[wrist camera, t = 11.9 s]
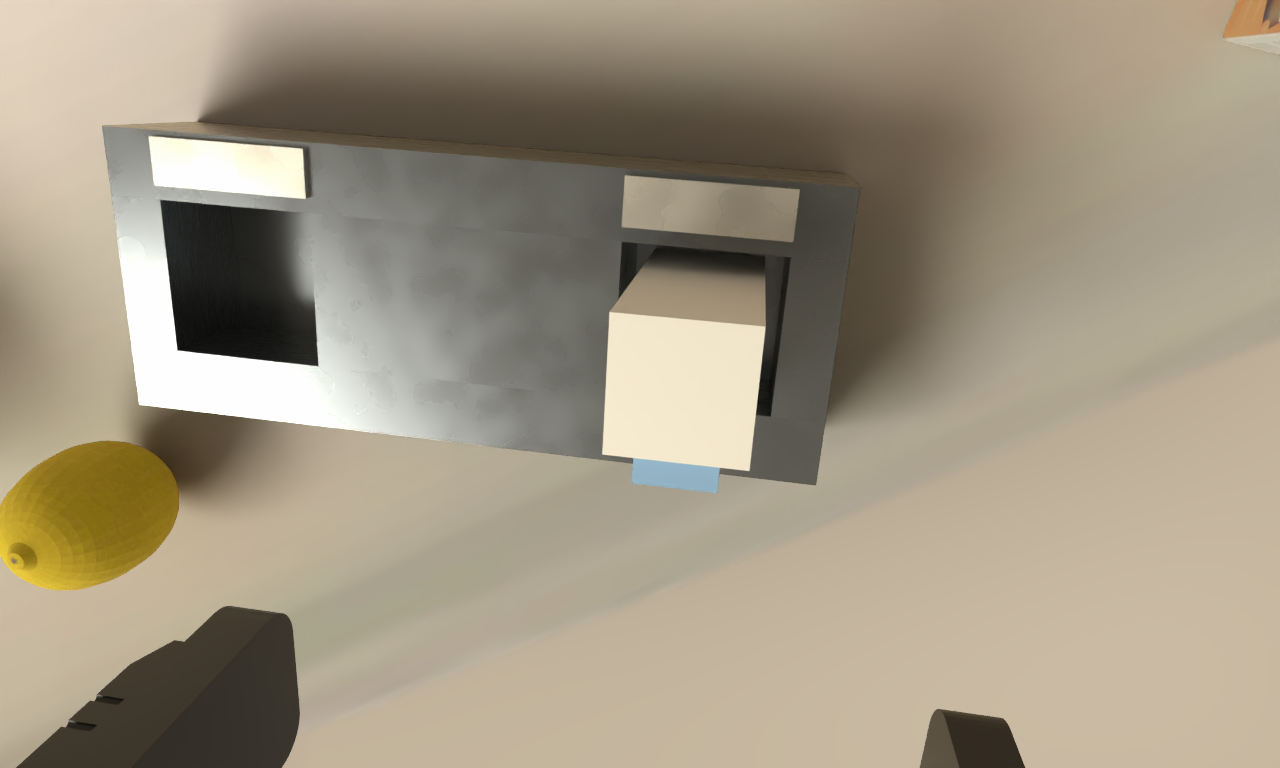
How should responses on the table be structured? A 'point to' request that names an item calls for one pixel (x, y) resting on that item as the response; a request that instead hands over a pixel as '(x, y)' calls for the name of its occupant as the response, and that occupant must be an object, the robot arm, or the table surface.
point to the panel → (451, 281)
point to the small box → (1255, 25)
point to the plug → (686, 367)
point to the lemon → (87, 515)
